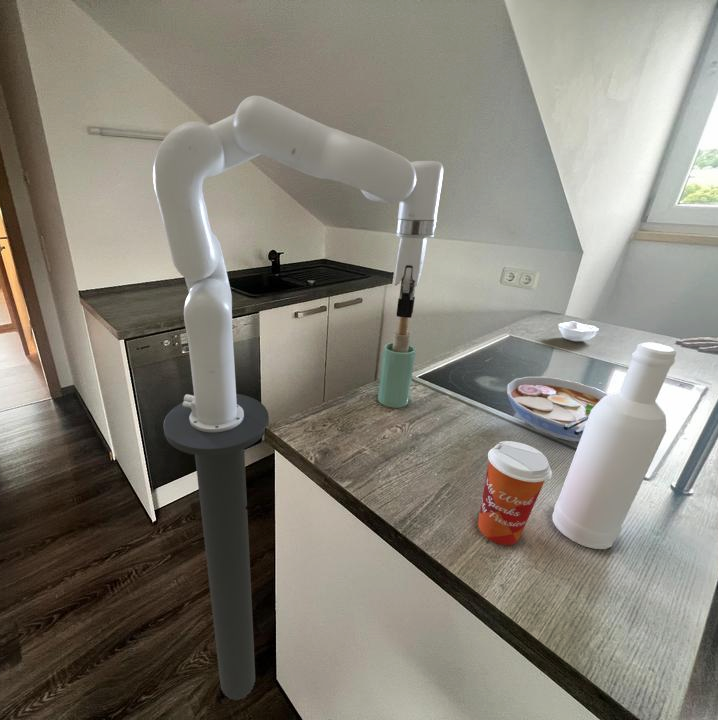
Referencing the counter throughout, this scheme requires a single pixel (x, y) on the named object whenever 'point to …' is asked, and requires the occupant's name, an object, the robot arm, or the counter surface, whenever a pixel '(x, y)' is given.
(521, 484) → the paper cup
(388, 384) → the cylindrical holder
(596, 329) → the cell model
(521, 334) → the counter surface
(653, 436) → the bottle
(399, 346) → the brush
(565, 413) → the ramen bowl
